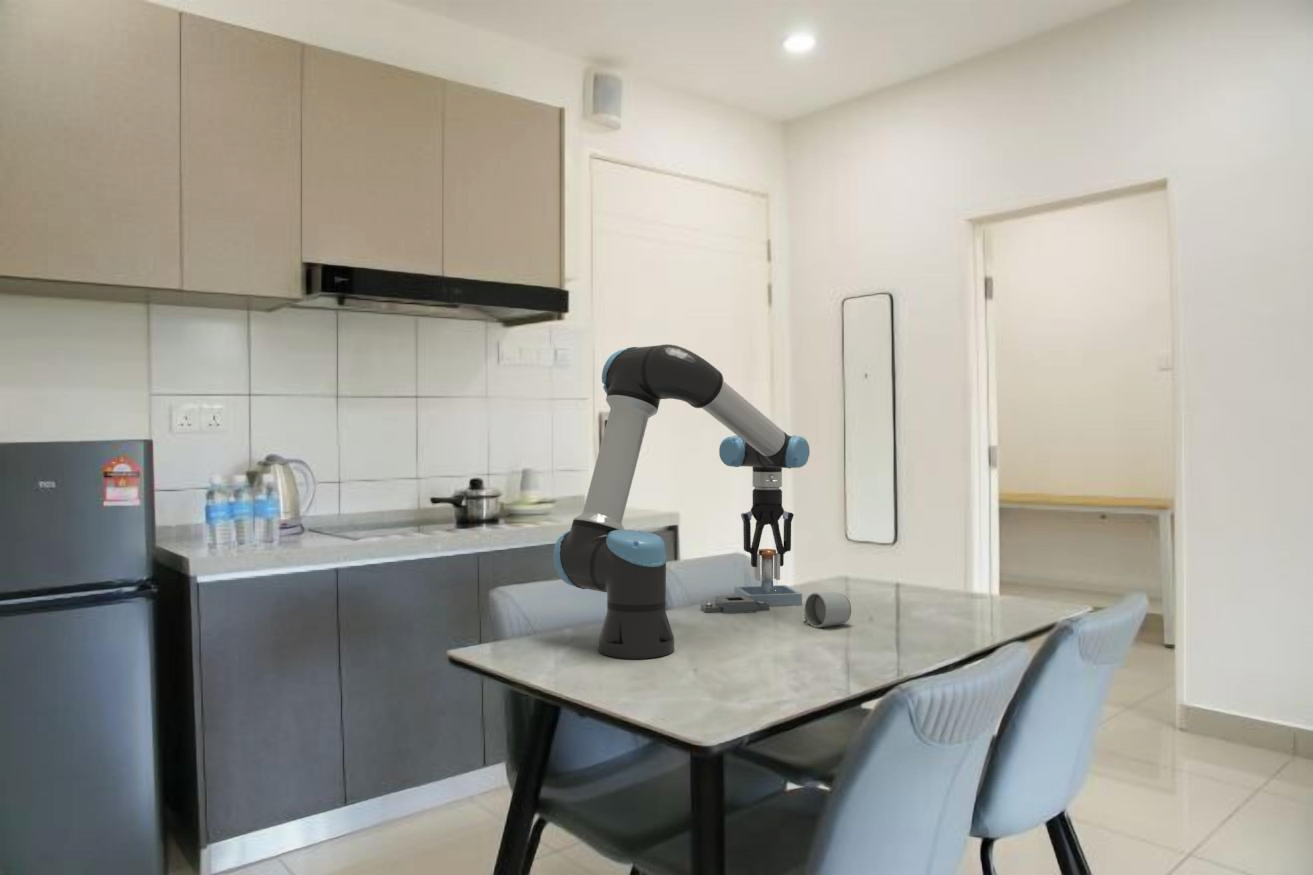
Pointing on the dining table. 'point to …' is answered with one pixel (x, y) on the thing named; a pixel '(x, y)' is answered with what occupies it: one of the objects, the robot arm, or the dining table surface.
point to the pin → (767, 570)
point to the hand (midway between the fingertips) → (767, 579)
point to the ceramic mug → (827, 609)
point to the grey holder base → (734, 605)
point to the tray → (771, 595)
